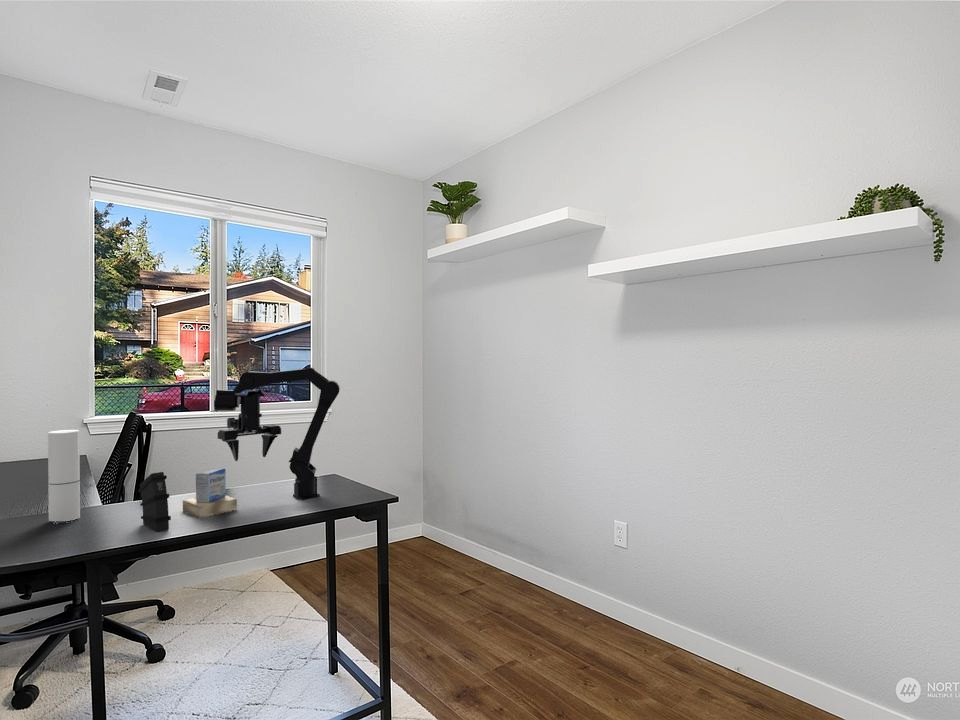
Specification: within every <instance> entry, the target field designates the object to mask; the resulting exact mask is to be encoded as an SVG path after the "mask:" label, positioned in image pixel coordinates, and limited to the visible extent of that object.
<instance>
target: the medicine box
mask: <svg viewBox="0 0 960 720" xmlns="http://www.w3.org/2000/svg"><path fill="white" fill-rule="evenodd" d="M226 473H227V471H226V468H221V467H220V468H219V467H215V468H210V469H208V470H204V471H200V472H198V473H195V498H196V502H202V503H210V502H213V501H215V500H218V499H220V498H223V497H225V496H226V495H227V489H226V487H227V484H226V483H227V480H226V479H227V477H226V476H227V474H226Z"/></svg>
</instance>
